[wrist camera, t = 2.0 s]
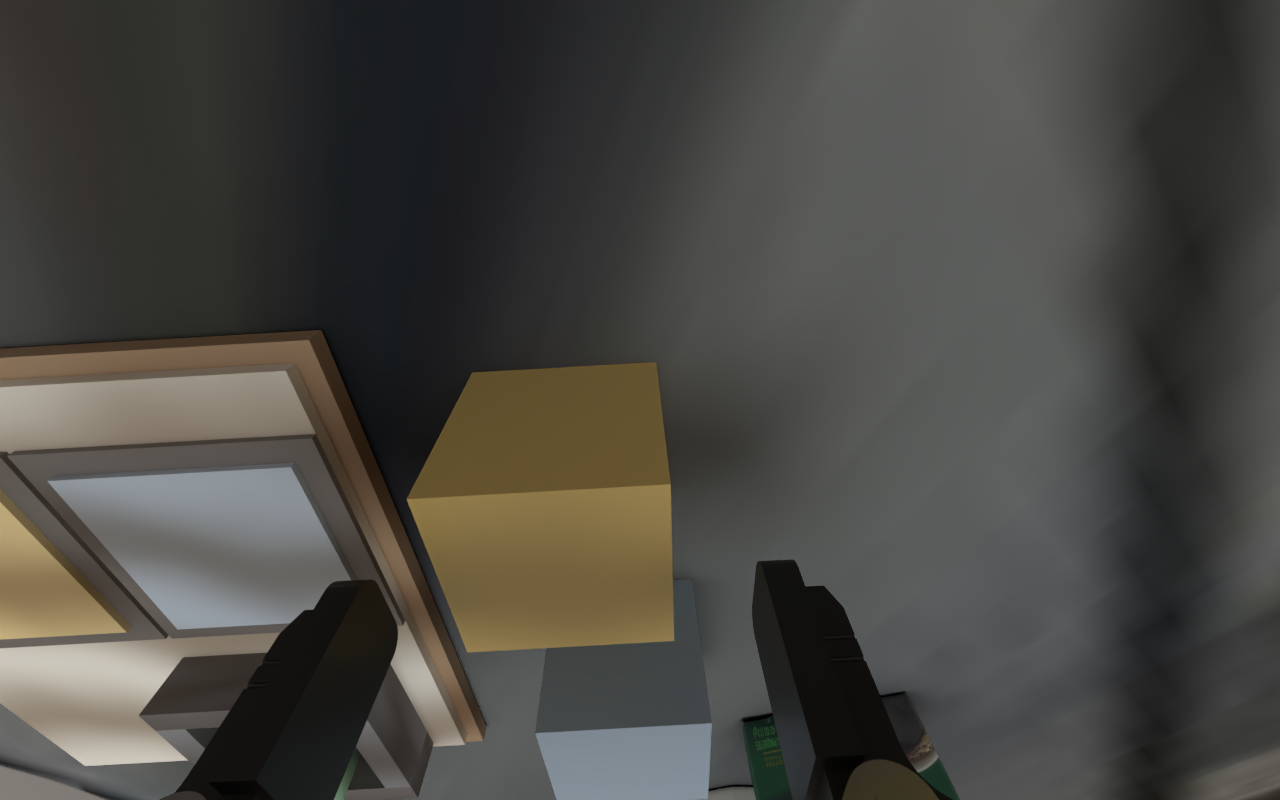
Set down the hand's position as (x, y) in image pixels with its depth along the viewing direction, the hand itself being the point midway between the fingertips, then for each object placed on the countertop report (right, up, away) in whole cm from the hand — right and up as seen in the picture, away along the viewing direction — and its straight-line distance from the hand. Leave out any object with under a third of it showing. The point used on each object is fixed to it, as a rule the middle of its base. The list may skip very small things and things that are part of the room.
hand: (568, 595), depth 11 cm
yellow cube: (0, +3, +4) cm, 5 cm away
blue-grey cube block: (+1, -5, +9) cm, 10 cm away
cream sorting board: (-15, -3, +7) cm, 17 cm away
